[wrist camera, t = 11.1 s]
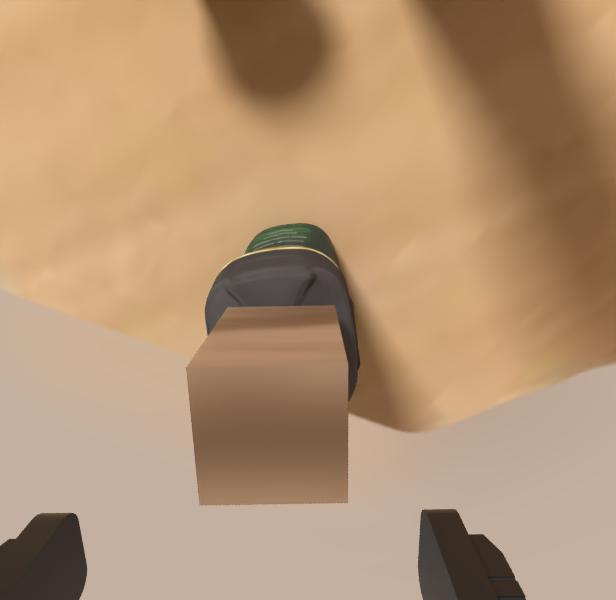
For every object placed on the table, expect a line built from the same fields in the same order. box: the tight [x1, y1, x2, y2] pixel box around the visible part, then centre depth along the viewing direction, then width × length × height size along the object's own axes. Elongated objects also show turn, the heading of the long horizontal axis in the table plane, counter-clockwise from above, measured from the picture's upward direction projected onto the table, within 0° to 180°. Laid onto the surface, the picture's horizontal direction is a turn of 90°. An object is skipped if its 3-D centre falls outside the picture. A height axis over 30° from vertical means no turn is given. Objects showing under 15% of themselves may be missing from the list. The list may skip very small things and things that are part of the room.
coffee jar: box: [205, 223, 360, 401], centre depth 30 cm, size 10×8×19 cm
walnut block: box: [186, 305, 348, 505], centre depth 17 cm, size 5×5×7 cm
